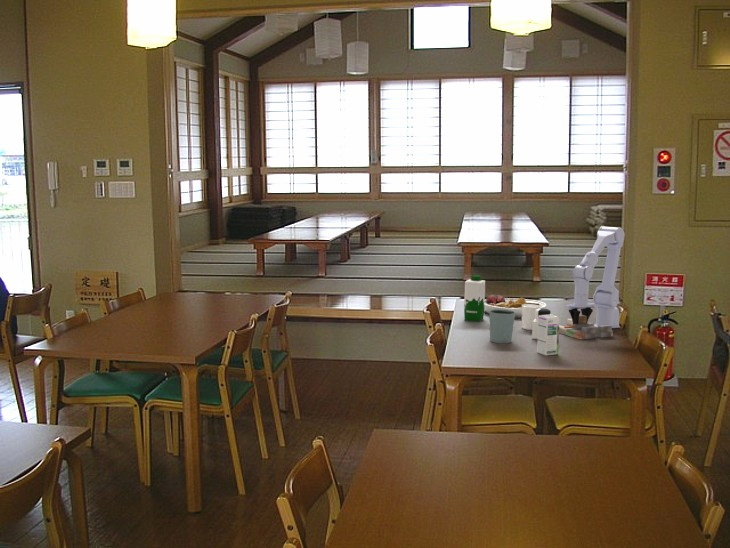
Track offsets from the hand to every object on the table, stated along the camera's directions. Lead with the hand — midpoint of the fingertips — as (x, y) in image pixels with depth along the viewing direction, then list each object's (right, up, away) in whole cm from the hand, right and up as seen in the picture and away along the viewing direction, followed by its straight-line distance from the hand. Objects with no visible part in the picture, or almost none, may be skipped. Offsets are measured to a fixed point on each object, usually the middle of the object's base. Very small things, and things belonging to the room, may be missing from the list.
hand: (579, 325), depth 343 cm
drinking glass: (-36, -5, -18) cm, 41 cm away
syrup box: (-23, -8, -39) cm, 46 cm away
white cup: (-20, -2, +7) cm, 21 cm away
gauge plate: (0, -3, -5) cm, 6 cm away
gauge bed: (-1, -3, +2) cm, 3 cm away
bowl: (-20, +3, +44) cm, 49 cm away
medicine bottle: (-19, -5, -12) cm, 22 cm away
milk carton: (-42, +1, +25) cm, 49 cm away
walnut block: (0, -2, +1) cm, 2 cm away
